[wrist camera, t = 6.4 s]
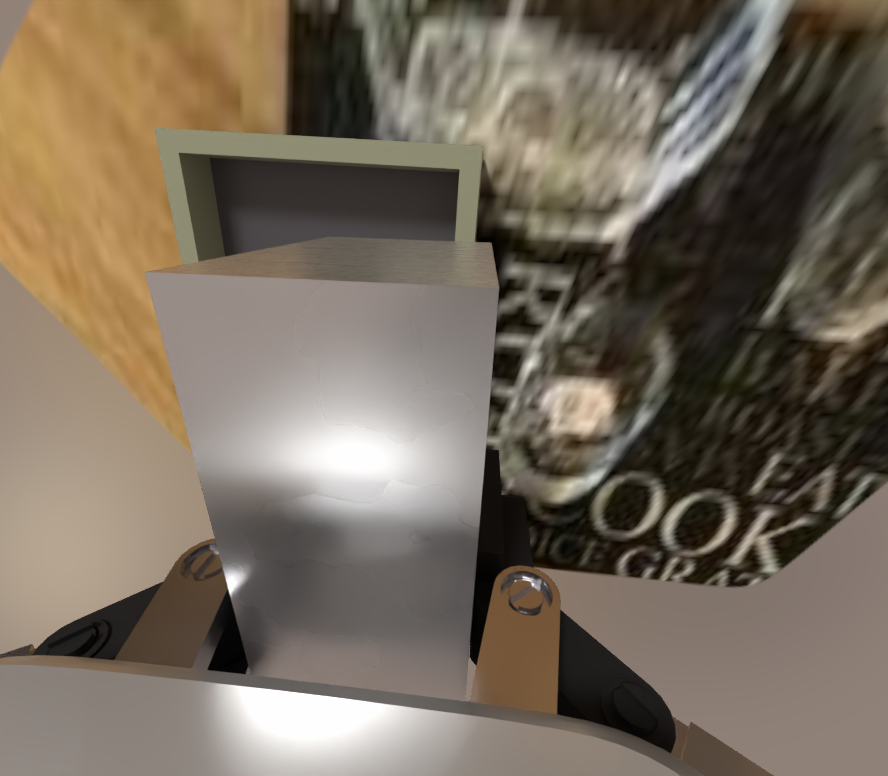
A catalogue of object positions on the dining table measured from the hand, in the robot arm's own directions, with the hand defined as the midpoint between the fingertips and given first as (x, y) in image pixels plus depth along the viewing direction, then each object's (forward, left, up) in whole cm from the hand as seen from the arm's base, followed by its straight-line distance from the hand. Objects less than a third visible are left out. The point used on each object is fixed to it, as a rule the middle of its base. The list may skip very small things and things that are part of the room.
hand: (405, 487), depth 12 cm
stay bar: (0, 0, -1) cm, 1 cm away
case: (+7, 0, -16) cm, 17 cm away
